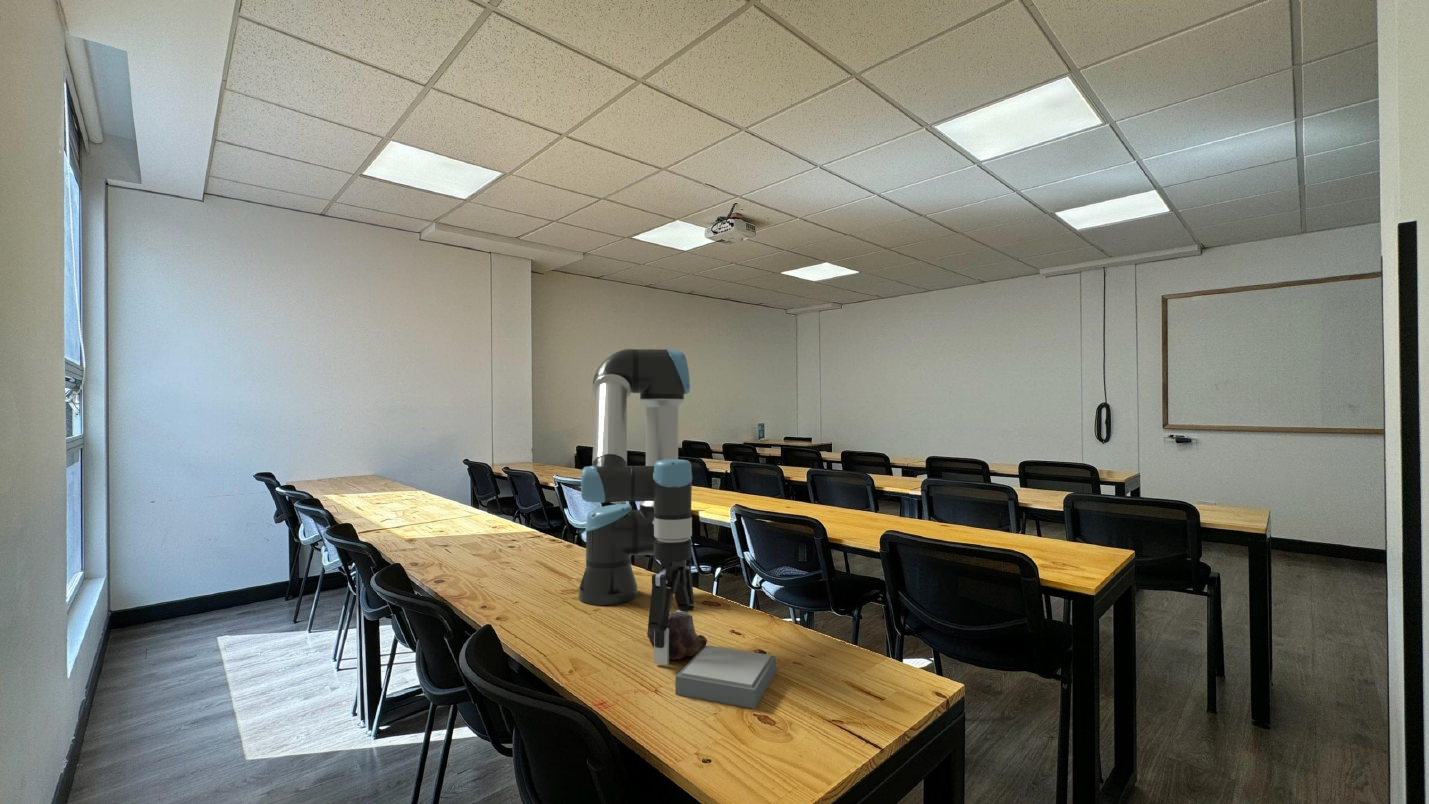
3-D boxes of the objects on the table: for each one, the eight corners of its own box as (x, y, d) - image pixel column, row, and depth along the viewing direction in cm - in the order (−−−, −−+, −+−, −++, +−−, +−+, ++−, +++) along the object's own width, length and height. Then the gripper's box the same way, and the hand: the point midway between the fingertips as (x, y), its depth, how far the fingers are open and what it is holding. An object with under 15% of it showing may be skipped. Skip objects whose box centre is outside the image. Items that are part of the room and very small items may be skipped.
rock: (673, 647, 120) (635, 661, 113) (670, 605, 121) (632, 615, 114) (713, 654, 112) (675, 669, 105) (709, 609, 113) (671, 620, 106)
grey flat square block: (705, 661, 111) (705, 643, 111) (776, 672, 106) (776, 653, 106) (675, 694, 97) (675, 674, 97) (754, 709, 93) (754, 687, 93)
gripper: (677, 526, 125) (677, 630, 125) (628, 548, 105) (628, 673, 104) (710, 529, 122) (709, 635, 122) (666, 552, 102) (666, 680, 101)
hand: (672, 652), depth 113 cm, fingers closed on rock, 9 cm apart
